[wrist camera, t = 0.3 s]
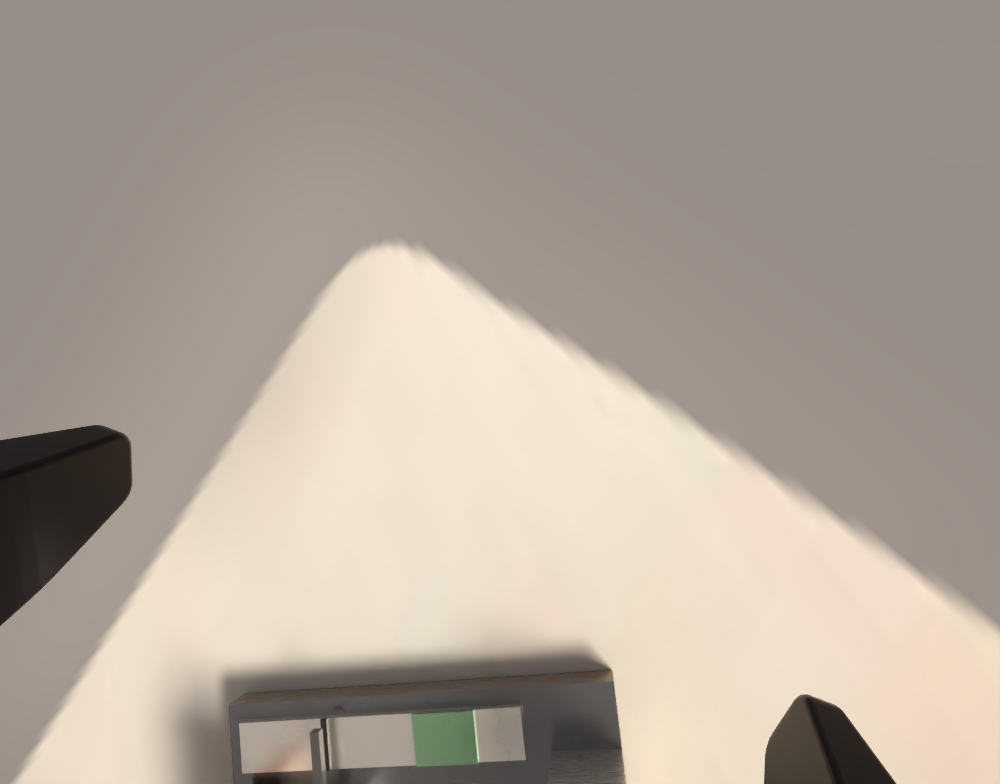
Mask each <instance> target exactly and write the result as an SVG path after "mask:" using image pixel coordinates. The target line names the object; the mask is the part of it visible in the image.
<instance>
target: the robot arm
mask: <svg viewBox="0 0 1000 784" xmlns="http://www.w3.org/2000/svg"><path fill="white" fill-rule="evenodd" d="M131 488H132V457H131V442H130V440H129V439H128V437H127V436H126V435H125V434H123V433H121V432H118V431H116V430H113V429H110V428H108V427H105V426H101V425H93V426H86V427H81V428H74V429H67V430H61V431H55V432H49V433H43V434H37V435H30V436H25V437H18V438H12V439H5V440H0V626H1V625H2V624H3V623H4V622H5V621H6V620H8V619H9V618H10V617H11V616H12V615H13V614H14V613H15V612H17V611H18V610H19V609H20V608H21V607H22V606H23V605H25V604H26V603H27V602H28V601H29V600H30V599H31V598H32V597H33V596H34V595H35V594H36V593H38V592H39V591H40V590H41V589H42V588H43V587H44V586H45V585H46V584H47V583H48V582H49V581H50V580H51V579H52V577H54V576H55V574H57V573H58V571H59V570H60V569H61V568H62V567H63V566H64V565H65V564H66V563H67V562H68V561H69V560H70V558H72V557H73V555H75V554H76V552H77V551H78V550H79V549H80V548H81V547H82V546H83V545H84V544H85V543H86V542H87V541H88V540H89V539H90V538H91V536H92V535H93V534H94V533H95V532H96V531H97V530H98V529H99V528H100V527H101V526H102V525H103V524H104V523H105V522H106V521H107V520H108V518H109V517H110V516H111V515H112V514H113V513H114V512H115V511H116V510H117V509H118V508H119V507H120V506H121V505H122V504H123V502H124V501H125V500H126V498H127V497H128V495H129V493H130V491H131ZM764 784H896V783H895V781H894V780H893V779H892V777H891V776H890V774H889V773H888V772H887V770H886V769H885V768H884V766H883V765H882V764H881V762H880V761H879V759H878V758H877V757H876V755H875V754H874V753H873V751H872V750H871V749H870V747H869V746H868V744H867V743H866V742H865V740H864V739H863V738H862V736H861V735H860V734H859V732H858V731H857V730H856V728H855V727H854V725H853V724H852V723H851V721H850V720H849V719H848V717H847V716H846V715H845V713H844V712H843V711H842V710H841V709H840V708H839V707H837V706H836V705H834V704H831V703H829V702H826V701H823V700H821V699H818V698H815V697H813V696H810V695H800V696H798V697H797V698H796V699H795V700H794V702H793V703H792V705H791V706H790V708H789V709H788V711H787V712H786V714H785V715H784V717H783V718H782V720H781V721H780V723H779V724H778V726H777V727H776V729H775V730H774V732H773V733H772V735H771V737H770V739H769V742H768V745H767V748H766V754H765V775H764Z"/></svg>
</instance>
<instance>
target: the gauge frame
mask: <svg viewBox="0 0 1000 784" xmlns="http://www.w3.org/2000/svg"><path fill="white" fill-rule="evenodd" d="M229 712H230V728H231V744H232V759H233V775H234V784H313V771H312V758H311V745H310V732H311V731H312V730H313V729H315V728H323V740H324V753H325V766H326V779H327V784H626V780H625V772H624V763H623V755H622V747H621V739H620V730H619V722H618V714H617V706H616V697H615V689H614V681H613V673H612V670H606V671H590V672H575V673H559V674H544V675H528V676H512V677H497V678H481V679H466V680H450V681H434V682H419V683H403V684H388V685H372V686H357V687H341V688H325V689H310V690H294V691H279V692H263V693H247V694H244V695H242V696H241V697H239V698H238V699H237V700H235V701H234V702H233V703H231V704H230V705H229Z"/></svg>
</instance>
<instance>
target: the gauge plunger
mask: <svg viewBox="0 0 1000 784" xmlns="http://www.w3.org/2000/svg"><path fill="white" fill-rule="evenodd" d="M310 745H311V758H312V771H313V784H327V779H326V766H325V753H324V740H323V728H315V729H313V730H312V731H311V732H310Z"/></svg>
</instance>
